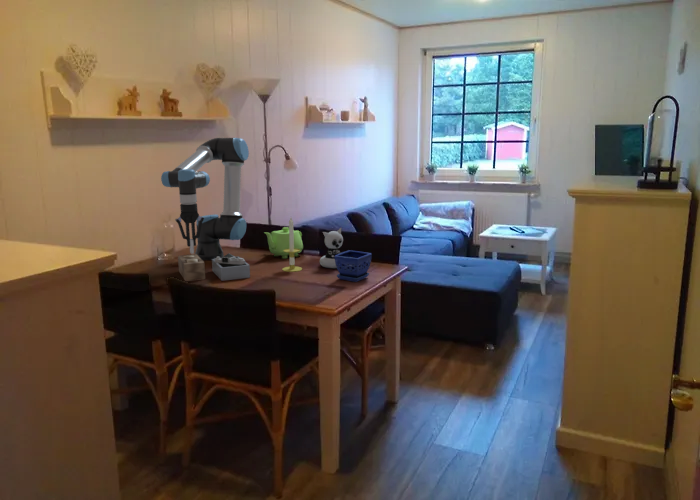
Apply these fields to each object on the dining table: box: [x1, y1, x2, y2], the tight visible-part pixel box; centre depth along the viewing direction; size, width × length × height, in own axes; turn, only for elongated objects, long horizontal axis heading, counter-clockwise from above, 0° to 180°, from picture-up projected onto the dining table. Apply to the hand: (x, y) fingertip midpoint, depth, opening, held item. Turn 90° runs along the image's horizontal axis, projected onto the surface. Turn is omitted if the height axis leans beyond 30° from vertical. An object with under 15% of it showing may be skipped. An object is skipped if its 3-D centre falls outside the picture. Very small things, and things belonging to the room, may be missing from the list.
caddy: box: [211, 256, 251, 281], centre depth 268 cm, size 14×20×6 cm, turn 25°
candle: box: [281, 217, 303, 273], centre depth 275 cm, size 10×10×27 cm
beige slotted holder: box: [177, 253, 206, 282], centre depth 266 cm, size 9×20×8 cm, turn 25°
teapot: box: [263, 226, 304, 260], centre depth 308 cm, size 25×22×16 cm
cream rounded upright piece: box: [187, 259, 198, 263], centre depth 263 cm, size 5×5×8 cm
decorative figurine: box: [319, 226, 344, 269], centre depth 283 cm, size 15×15×20 cm
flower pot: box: [334, 249, 373, 283], centre depth 260 cm, size 13×13×12 cm
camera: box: [215, 252, 246, 267], centre depth 269 cm, size 16×9×10 cm, turn 74°
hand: (192, 252), depth 261 cm, fingers closed
